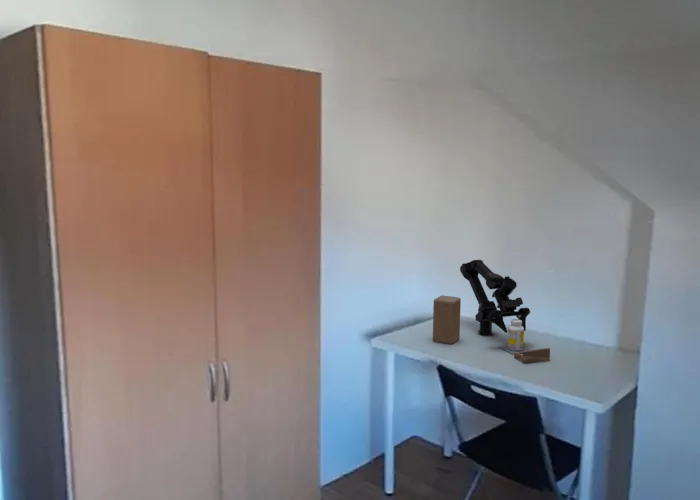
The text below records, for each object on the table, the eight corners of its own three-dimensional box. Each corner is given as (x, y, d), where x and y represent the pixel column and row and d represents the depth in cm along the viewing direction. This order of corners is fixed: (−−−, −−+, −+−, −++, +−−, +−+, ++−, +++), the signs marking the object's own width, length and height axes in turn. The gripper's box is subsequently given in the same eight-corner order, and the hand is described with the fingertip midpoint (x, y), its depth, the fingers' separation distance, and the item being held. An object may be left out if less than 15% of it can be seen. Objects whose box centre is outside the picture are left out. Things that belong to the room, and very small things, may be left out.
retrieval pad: (499, 347, 266) (499, 346, 266) (518, 345, 269) (518, 344, 269) (511, 354, 257) (511, 353, 256) (532, 352, 260) (532, 351, 259)
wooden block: (452, 345, 270) (453, 302, 266) (431, 341, 275) (432, 299, 271) (460, 339, 278) (461, 297, 275) (439, 335, 283) (440, 294, 280)
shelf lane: (514, 357, 253) (514, 346, 252) (539, 354, 257) (539, 343, 256) (523, 363, 246) (524, 351, 245) (549, 360, 250) (550, 348, 249)
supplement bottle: (520, 346, 266) (522, 318, 264) (525, 351, 260) (526, 322, 257) (505, 346, 266) (507, 318, 264) (509, 351, 260) (510, 322, 258)
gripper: (492, 292, 261) (504, 324, 253) (529, 289, 267) (542, 320, 258) (482, 305, 270) (494, 336, 261) (518, 302, 275) (531, 332, 267)
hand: (515, 331), depth 262 cm, fingers open, 9 cm apart
